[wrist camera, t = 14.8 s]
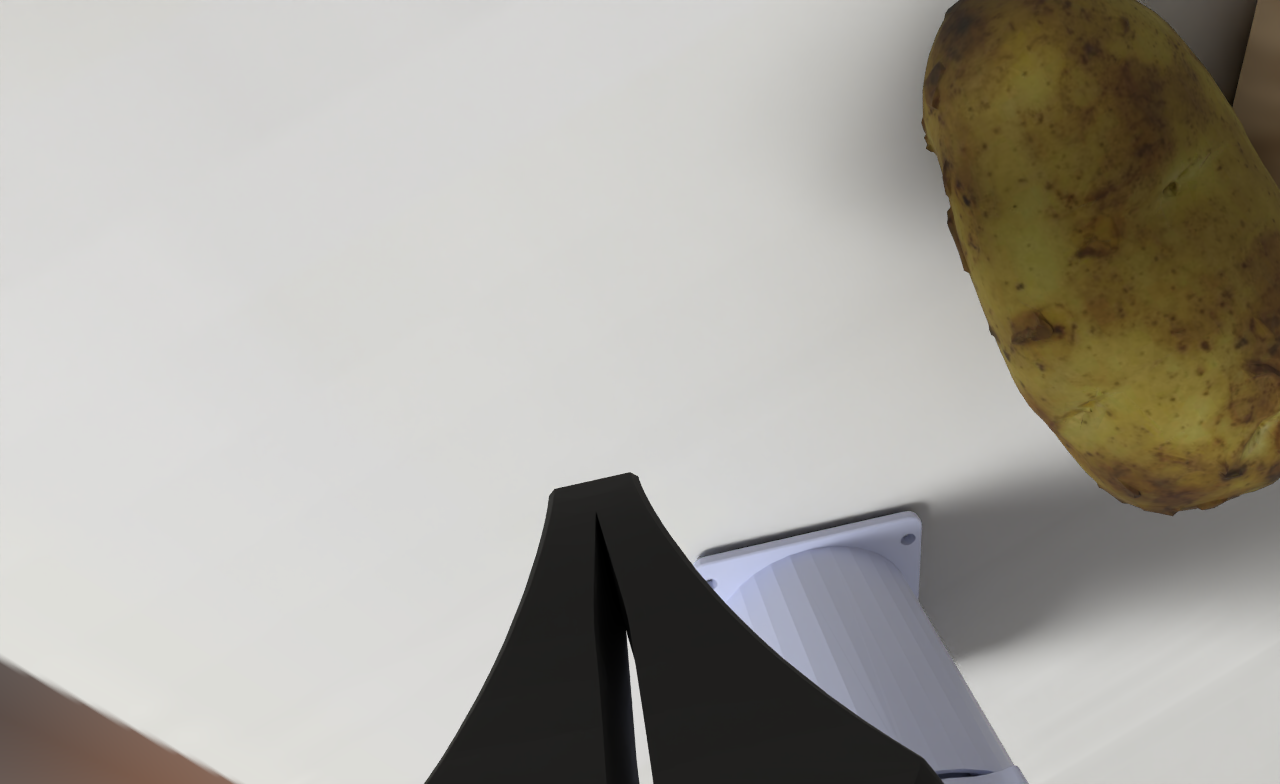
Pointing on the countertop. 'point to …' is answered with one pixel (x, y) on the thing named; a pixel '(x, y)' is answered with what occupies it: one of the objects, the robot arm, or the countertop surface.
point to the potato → (1115, 241)
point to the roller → (1262, 86)
